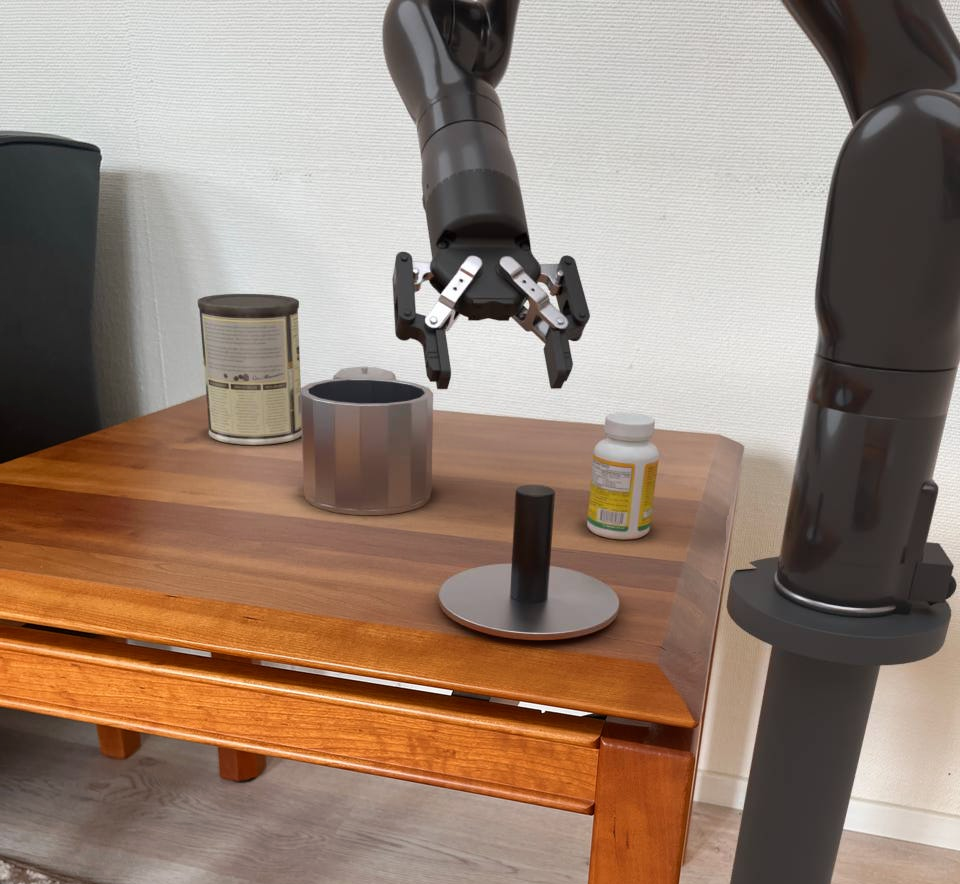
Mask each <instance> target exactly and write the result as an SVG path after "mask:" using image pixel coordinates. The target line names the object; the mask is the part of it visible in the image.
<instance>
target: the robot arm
mask: <svg viewBox="0 0 960 884" xmlns="http://www.w3.org/2000/svg"><path fill="white" fill-rule="evenodd" d="M778 1H779V3H780V4H781V5H782V7H783V8H784V10H785V11H786V12H787V13H788V14H789V16H790V17H791V18H792V20H793V21H794V22H795V25H797V26H798V28H799V29H800V31H802V33H803V34H804V35H805V37H806V38H807V40H808V41H809V42H810V44H811V45H812V46H813V48H814V49H815V51H816V52H817V53H818V54H819V56H820V58H821V59H822V61H823V62H824V64H825V65H826V67H827V68H828V70H829V73H830V75H831V76H832V78H833V81H834V82H835V84H836V87H837V89H838V91H839V93H840V96H841V99H842V100H843V104H844V107H845V109H846V111H847V114H848V117H849V120H850V123H851V126H852V128H850V131H849V132H848V134H847V135H846V136H845V139H844V141H843V142H842V144H841V147H840V149H839V152H838V154H837V157H836V160H835V163H834V167H833V170H832V174H831V178H830V183H829V188H828V193H827V199H826V204H825V205H826V206H825V212H824V218H823V226H822V233H821V242H820V248H819V257H818V265H817V272H816V279H815V286H814V287H815V288H814V312H815V319H816V324H817V336H816V343H815V348H814V349H815V350H814V352H815V353H814V354H813V360H812V366H811V372H810V377H809V383H808V384H809V385H808V388H807V389H808V390H807V397H806V399H805V400H806V402H805V407H804V412H803V413H804V414H803V419H802V424H801V431H800V434H799V435H800V436H799V440H798V441H799V442H798V447H797V454H796V459H795V463H794V464H795V465H794V471H793V476H792V481H791V482H792V483H791V486H790V487H791V488H790V492H789V493H790V494H789V500H788V505H787V511H786V516H785V523H784V529H783V534H782V541H781V546H780V552H779V554H778V557H779V559H778V569H777V571H776V573H775V578H774V588H775V589H776V591H777V592H778V593H779V594H780V595H781V596H783V597H784V598H786V599H787V600H789V601H791V602H793V603H795V604H798V605H800V606H803V607H805V608H808V609H811V610H815V611H819V612H823V613H827V614H832V615H838V616H846V617H865V618H868V617H881V616H887V615H891V614H901V615H909V614H910V610H911V606H912V601H913V600H917V601H927V603H928V604H929V605H930V606H932V605H934V604H936V603H945V600H946V601H947V600H948V599H950V598H951V597H952V596H953V595H954V594H955V592H956V590H957V587H958V585H957V581H956V579H955V577H954V576H953V571H954V566H955V565H954V564H953V562H952V560H951V559H950V557H949V556H948V554H947V552H946V551H945V550H944V548H943V547H942V545H941V543H939V542H928V538H929V534H930V530H931V529H930V528H931V525H932V520H933V517H934V512H935V508H936V504H937V499H938V495H939V485H938V484H937V482H936V481H935V480H934V479H933V478H934V473H935V469H936V464H937V460H938V455H939V451H940V447H941V443H942V438H943V434H944V430H945V425H946V423H947V418H948V413H949V409H950V404H951V400H952V396H953V391H954V387H955V383H956V378H957V374H958V369H959V365H960V40H959V38H958V37H957V34H956V33H955V31H954V29H953V27H952V25H951V23H950V21H949V18H948V16H947V14H946V12H945V11H944V9H943V6H942V4H941V0H778ZM520 4H521V0H389V2H388V4H387V7H386V9H385V12H384V16H383V21H382V29H381V30H382V32H381V40H382V41H381V43H382V50H383V56H384V60H385V64H386V68H387V71H388V74H389V76H390V78H391V81H392V82H393V85H394V87H395V88H396V91H397V92H398V95H399V96H400V98H401V101H402V103H403V105H404V106H405V107H404V108H405V109H406V111H407V113H408V115H409V117H410V118H411V121H412V122H413V123H414V125H415V128H416V135H417V139H418V146H419V153H420V160H421V161H420V162H421V190H422V198H421V201H422V208H423V210H424V213H425V219H426V225H427V232H428V239H429V246H430V254H431V260H430V261H417V260H413V256H412V255H411V254H410V253H409V252H407V251H399V252H398V253H397V254H396V255H395V260H394V266H393V273H392V277H391V278H392V279H391V280H392V282H391V283H392V294H393V295H392V297H393V300H392V301H393V315H394V316H393V317H394V333H395V337H396V338H397V339H398V340H400V341H403V342H406V341H409V340H410V339H411V340H413V341H416V342H418V343H419V344H420V345H421V347H422V351H423V358H424V364H425V365H424V366H425V373H426V377H427V379H428V380H429V382H430V383H435V385H436V389H437V390H448V388H449V386H450V381H451V378H452V367H451V359H450V353H449V347H448V346H449V345H448V341H447V339H448V338H447V332H449V331H450V329H451V328H452V327H453V326H454V324H455V323H456V322H457V321H458V319H459V318H460V316H463V317H465V318H467V320H468V322H469V321H476V322H478V321H483V320H486V319H490V320H494V321H497V322H509V321H510V318H512V320H513V321H515V322H516V324H517V325H518V326H520V327H521V328H522V329H523V330H524V331H525V332H528V333H529V332H532V333H533V334H534V335H535V336H536V337H537V338H538V339H539V340H540V341H541V342H542V343H543V344H544V346H543V355H544V359H545V366H546V371H547V376H548V383H549V387H550V389H552V390H555V389H557V390H559V389H562V388H563V386H564V384H565V382H567V381H568V379H569V376H570V375H571V373H572V371H573V365H574V362H573V357H572V351H571V346H570V342H578V341H580V340H581V338H582V336H583V333H584V330H585V328H586V326H587V324H588V322H589V320H590V318H591V314H590V310H589V306H588V303H587V299H586V295H585V291H584V288H583V284H582V280H581V276H580V272H579V269H578V265H577V262H576V259H575V258H574V257H573V256H570V255H563V256H562V257H561V258H560V259H559V263H540V262H539V261H538V259H536V256H534V254H533V251H532V248H531V247H532V246H531V245H532V244H531V239H530V233H529V227H528V223H527V216H526V211H525V205H524V200H523V194H522V189H521V183H520V177H519V173H518V168H517V165H516V161H515V158H514V155H513V153H512V151H511V150H512V149H511V147H510V141H509V136H508V131H507V123H506V119H505V115H504V111H503V110H504V109H503V106H502V102H501V98H500V96H499V94H498V93H497V90H496V89H497V87H499V85H500V84H501V83H502V81H503V79H504V77H505V76H506V74H507V70H508V68H509V65H510V60H511V56H512V52H513V44H514V38H515V34H516V33H515V31H516V26H517V20H518V15H519V9H520ZM426 281H428V282H429V284H430V286H431V287H432V288H433V289H434V290H435V291H437V293H438V294H439V298H438V300H437V301H436V302H435V304H434V305H433V307H432V308H431V310H430V311H429V312H428V313H427V315H424V314H421V313H417V311H416V310H417V308H416V307H417V306H416V295H415V294H416V293H418V292H419V291H420V290H421V289H422V285H423V283H424V282H426ZM539 283H542V284H544V285H545V286H546V287H547V290H548V291H549V295H550V296H551V297H555V298H556V302H557V306H558V308H556V306H554V305H553V303H551V300H550V296H549V295H548V293H547V292H546V291H545V290H544V289H543V288H542V287H541V286H540V285H539ZM526 302H528V305H529V306H528V307H526V306H525V304H526Z"/></svg>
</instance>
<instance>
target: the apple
mask: <svg viewBox="0 0 960 884" xmlns="http://www.w3.org/2000/svg"><path fill="white" fill-rule="evenodd" d="M343 378H378V379H391V380H397V376H396V374H395V373H394V371H390V370H388V369H383V368H380V367H376V366H375V367H374V366H366V365H365V366H353V367H344V368H341V369H339V370H338V371H337V372H336V373H335V374H334V375H333V377H332V379H343Z"/></svg>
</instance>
